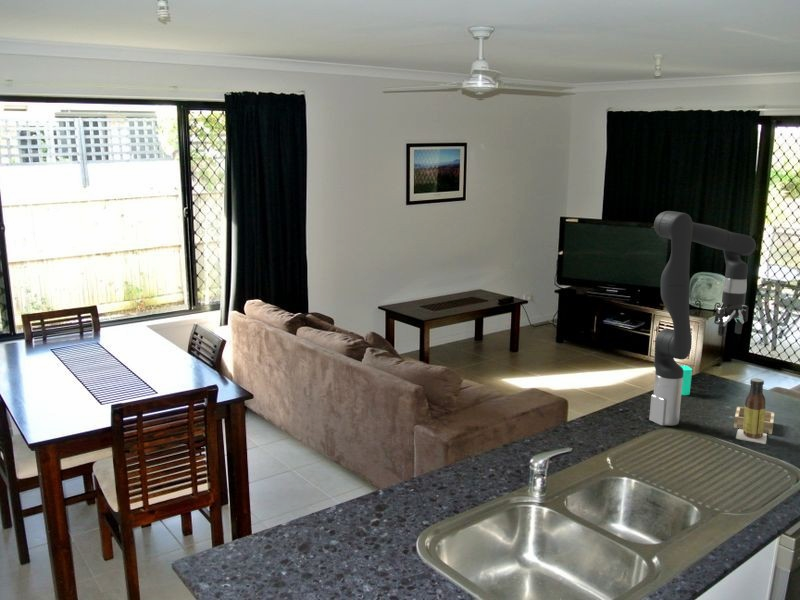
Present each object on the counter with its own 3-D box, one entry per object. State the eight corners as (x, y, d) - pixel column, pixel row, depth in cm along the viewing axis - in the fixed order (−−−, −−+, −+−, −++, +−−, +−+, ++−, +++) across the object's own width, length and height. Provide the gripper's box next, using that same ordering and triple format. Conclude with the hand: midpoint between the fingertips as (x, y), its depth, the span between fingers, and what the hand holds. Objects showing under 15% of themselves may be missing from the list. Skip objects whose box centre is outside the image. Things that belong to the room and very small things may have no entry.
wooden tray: (771, 434, 243) (773, 423, 242) (733, 427, 249) (734, 416, 248) (773, 423, 253) (774, 412, 253) (736, 416, 259) (737, 406, 258)
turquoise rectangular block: (676, 389, 289) (678, 361, 286) (691, 392, 285) (694, 363, 283) (672, 393, 284) (674, 364, 282) (687, 396, 281) (690, 367, 278)
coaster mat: (765, 444, 235) (765, 443, 235) (735, 438, 239) (736, 437, 239) (766, 435, 243) (767, 433, 243) (738, 429, 247) (738, 428, 247)
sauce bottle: (758, 432, 244) (765, 377, 240) (765, 439, 238) (772, 383, 234) (738, 431, 244) (745, 376, 240) (745, 438, 238) (752, 382, 234)
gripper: (729, 294, 247) (724, 339, 250) (757, 290, 253) (752, 335, 256) (711, 290, 253) (707, 334, 256) (739, 287, 259) (734, 330, 263)
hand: (729, 334), depth 256 cm, fingers open, 8 cm apart
